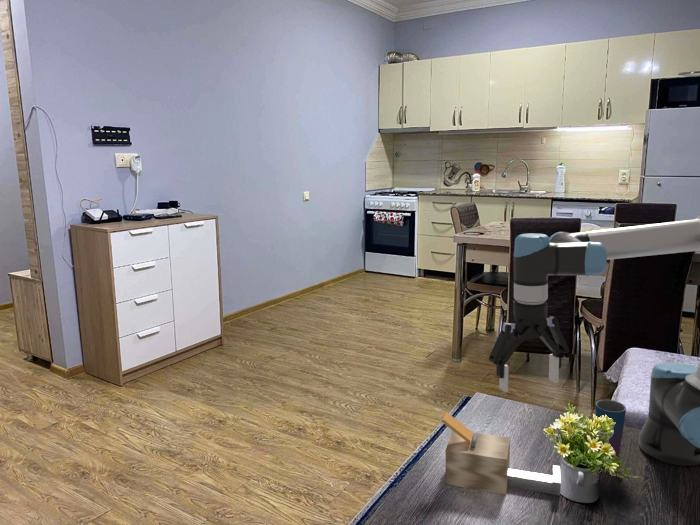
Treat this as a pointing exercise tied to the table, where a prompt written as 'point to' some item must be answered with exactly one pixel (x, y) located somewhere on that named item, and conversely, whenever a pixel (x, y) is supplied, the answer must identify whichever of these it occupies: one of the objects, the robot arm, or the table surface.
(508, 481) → the white l-shaped bar
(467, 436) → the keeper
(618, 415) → the cup
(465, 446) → the block
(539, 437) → the table surface
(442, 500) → the table surface
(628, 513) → the table surface
